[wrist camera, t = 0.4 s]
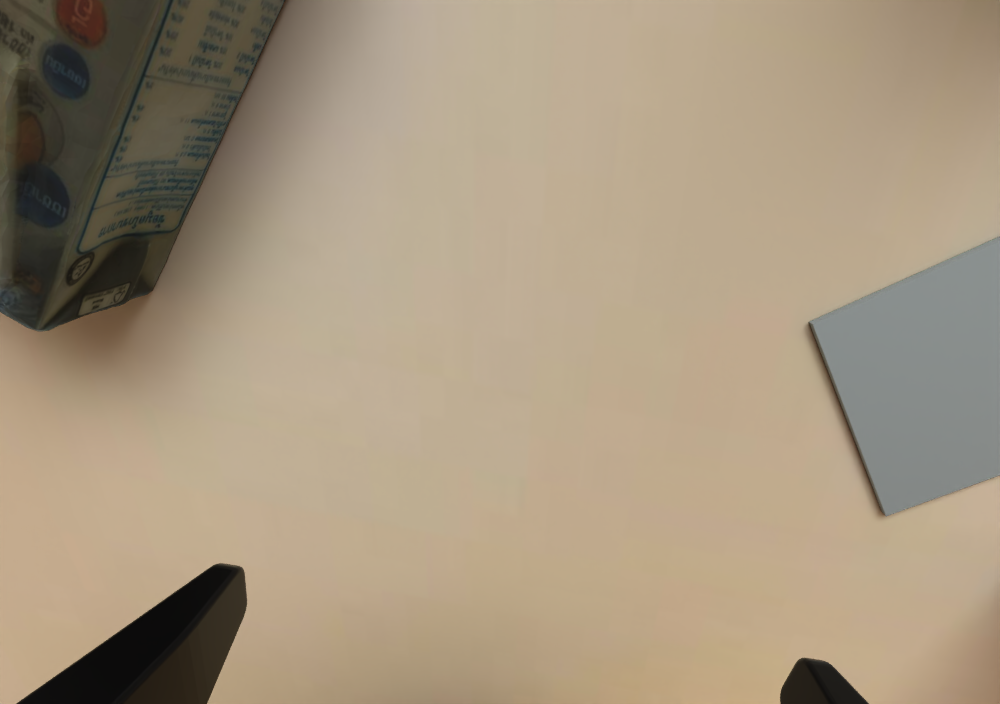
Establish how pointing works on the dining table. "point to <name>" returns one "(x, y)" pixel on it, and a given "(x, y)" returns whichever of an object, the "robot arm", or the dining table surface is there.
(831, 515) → the dining table surface
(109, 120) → the beverage carton
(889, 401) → the coaster
